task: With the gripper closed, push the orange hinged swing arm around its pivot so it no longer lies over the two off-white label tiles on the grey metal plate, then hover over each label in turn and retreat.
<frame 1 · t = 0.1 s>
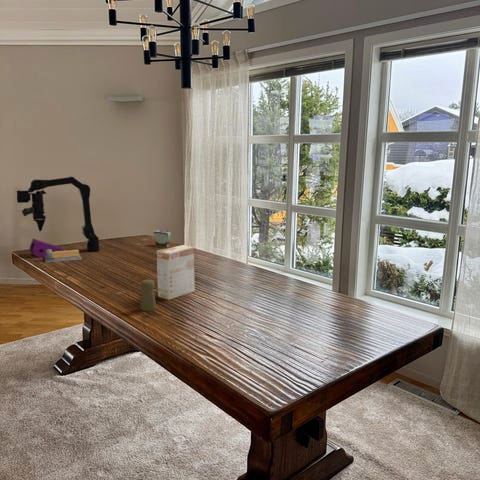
hand: (40, 229, 247), 15 cm above the table, tool pointing down, fingers open, 9 cm apart
mounting bracket: (49, 255, 252), on the table
olive green upright piece: (148, 308, 166), on the table
coffeecake box: (176, 294, 183), on the table
food container: (164, 246, 276), on the table
swing arm: (62, 253, 239), point 4 cm above the table, hinge at 0.0°
chassis plate: (62, 258, 243), on the table
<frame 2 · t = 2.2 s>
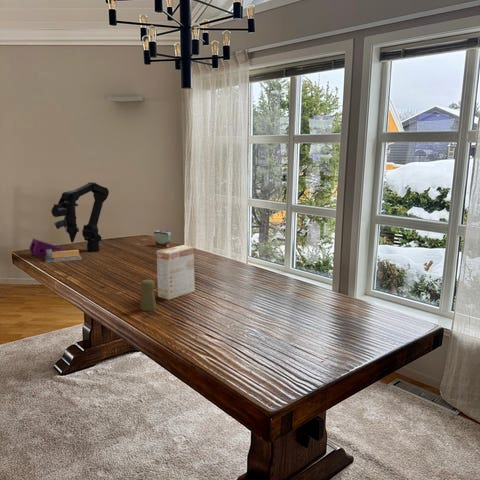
hand: (72, 242, 246), 8 cm above the table, tool pointing down, fingers closed
nothing on the table moved.
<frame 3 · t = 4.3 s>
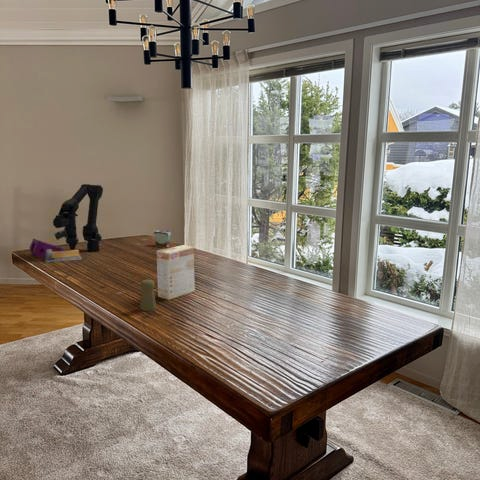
hand: (72, 253, 244), 3 cm above the table, tool pointing down, fingers closed
swing arm: (62, 253, 239), point 4 cm above the table, hinge at 0.4°, touching gripper
everything else where it was.
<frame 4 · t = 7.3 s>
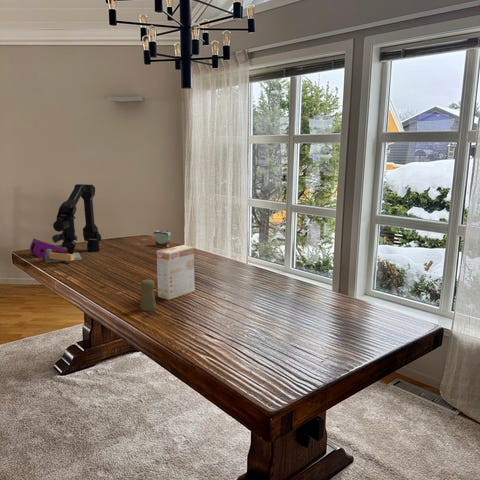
hand: (70, 256, 235), 3 cm above the table, tool pointing down, fingers closed
swing arm: (59, 255, 234), point 4 cm above the table, hinge at 44.8°, touching gripper
everything else where it was.
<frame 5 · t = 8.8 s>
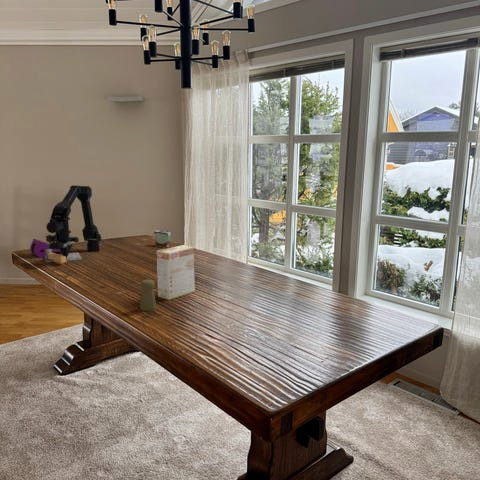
hand: (65, 258, 231), 3 cm above the table, tool pointing down, fingers closed
swing arm: (55, 256, 232), point 4 cm above the table, hinge at 65.5°, touching gripper
everything else where it was.
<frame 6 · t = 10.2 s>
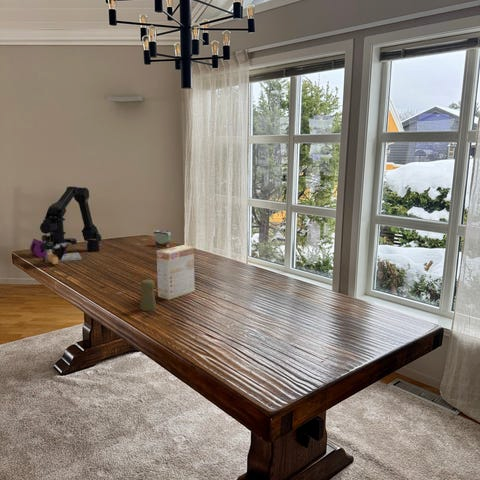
hand: (59, 259, 228), 3 cm above the table, tool pointing down, fingers closed
swing arm: (51, 256, 231), point 4 cm above the table, hinge at 81.3°
everything else where it was.
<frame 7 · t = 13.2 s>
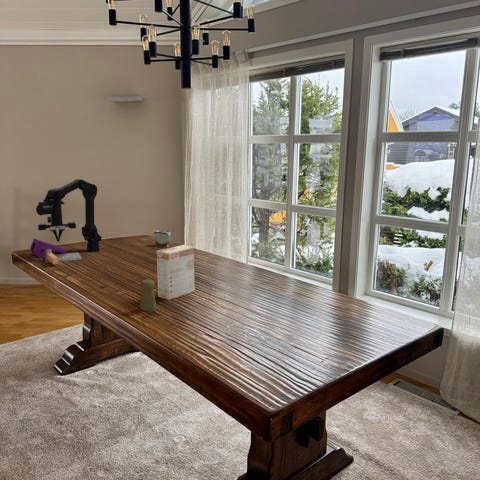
hand: (58, 241, 237), 10 cm above the table, tool pointing down, fingers closed
nothing on the table moved.
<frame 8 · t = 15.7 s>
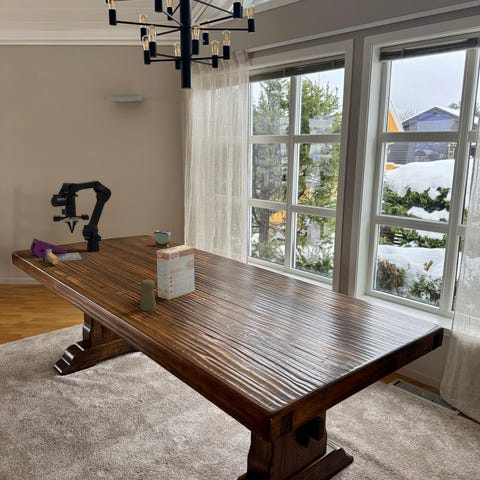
hand: (72, 232, 247), 13 cm above the table, tool pointing down, fingers closed
nothing on the table moved.
at the end: swing arm at +81° (first picture: +0°); swing arm touching nothing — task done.
